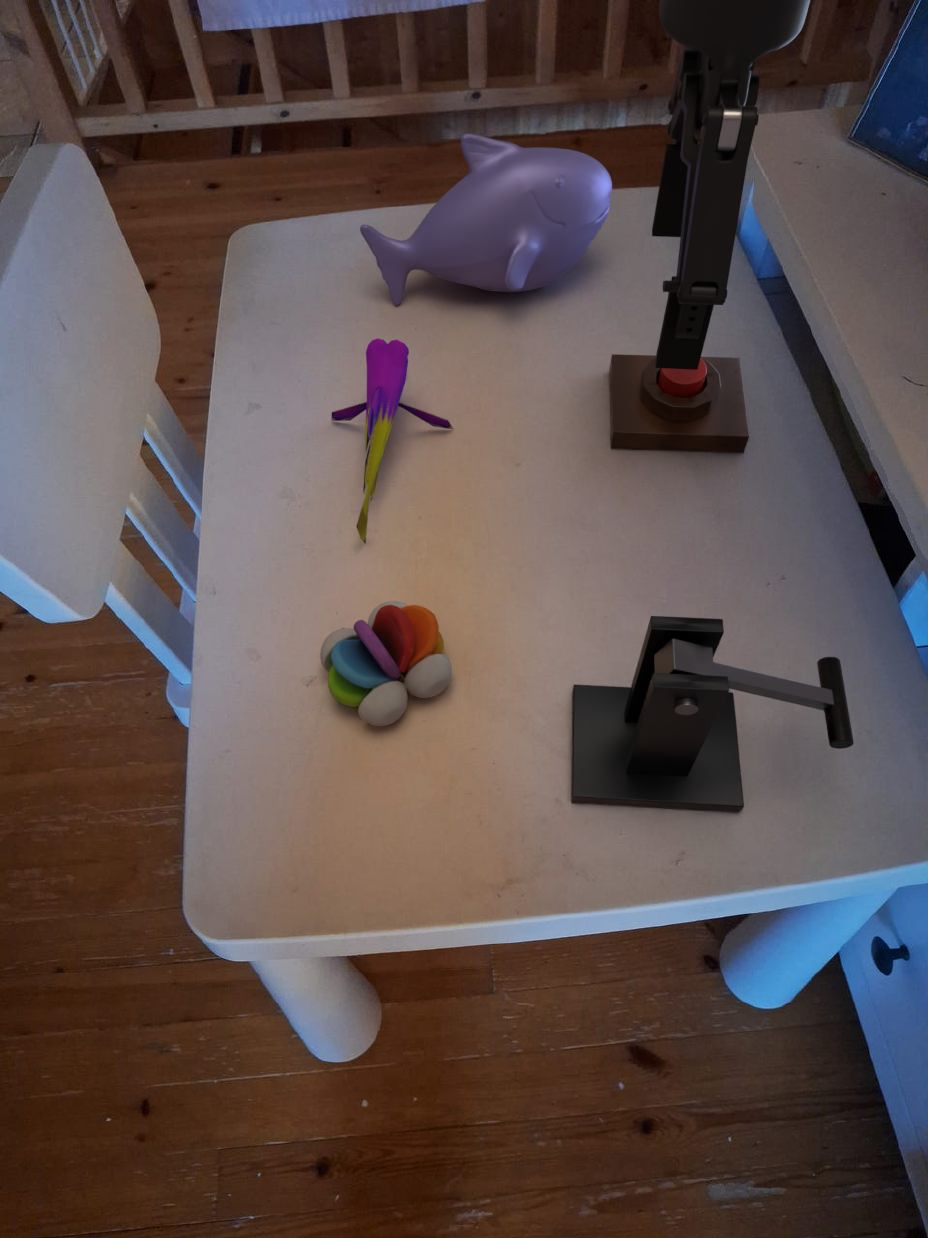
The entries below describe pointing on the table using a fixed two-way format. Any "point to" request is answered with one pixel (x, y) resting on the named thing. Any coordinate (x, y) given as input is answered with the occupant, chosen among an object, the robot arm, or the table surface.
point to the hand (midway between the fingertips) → (673, 296)
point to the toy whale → (503, 220)
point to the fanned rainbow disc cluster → (386, 661)
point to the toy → (382, 410)
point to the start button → (683, 381)
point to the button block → (676, 408)
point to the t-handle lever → (768, 684)
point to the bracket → (659, 732)
